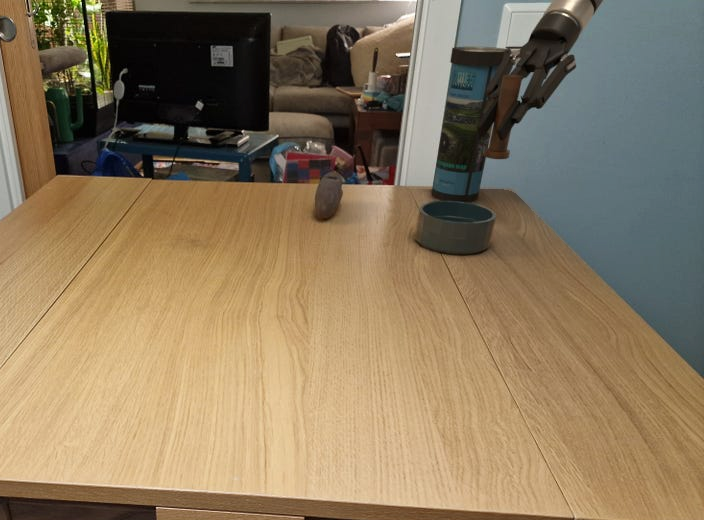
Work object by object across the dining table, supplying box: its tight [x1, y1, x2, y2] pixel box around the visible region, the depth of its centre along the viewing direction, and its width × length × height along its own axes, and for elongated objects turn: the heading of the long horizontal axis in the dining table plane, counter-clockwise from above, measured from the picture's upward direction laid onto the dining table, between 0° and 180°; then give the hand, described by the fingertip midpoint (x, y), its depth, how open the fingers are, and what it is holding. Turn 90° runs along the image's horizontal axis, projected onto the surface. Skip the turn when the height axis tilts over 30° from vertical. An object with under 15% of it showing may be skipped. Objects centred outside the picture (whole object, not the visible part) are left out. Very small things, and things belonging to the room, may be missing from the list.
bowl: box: [414, 200, 497, 256], centre depth 121 cm, size 13×13×6 cm
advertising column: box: [431, 46, 507, 203], centre depth 141 cm, size 11×11×30 cm
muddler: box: [484, 74, 523, 160], centre depth 120 cm, size 4×4×14 cm
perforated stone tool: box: [314, 171, 344, 219], centre depth 136 cm, size 15×5×7 cm, turn 162°
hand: (490, 133), depth 119 cm, fingers closed on muddler, 3 cm apart
